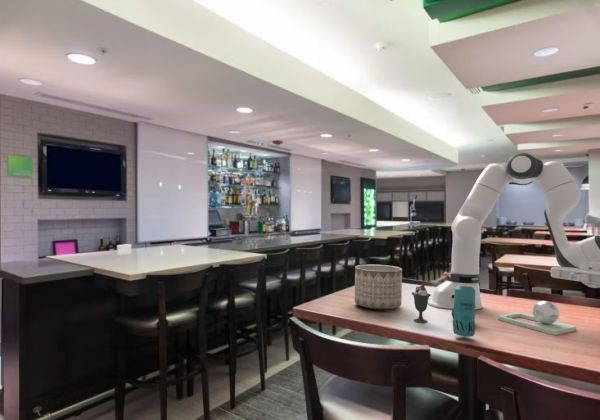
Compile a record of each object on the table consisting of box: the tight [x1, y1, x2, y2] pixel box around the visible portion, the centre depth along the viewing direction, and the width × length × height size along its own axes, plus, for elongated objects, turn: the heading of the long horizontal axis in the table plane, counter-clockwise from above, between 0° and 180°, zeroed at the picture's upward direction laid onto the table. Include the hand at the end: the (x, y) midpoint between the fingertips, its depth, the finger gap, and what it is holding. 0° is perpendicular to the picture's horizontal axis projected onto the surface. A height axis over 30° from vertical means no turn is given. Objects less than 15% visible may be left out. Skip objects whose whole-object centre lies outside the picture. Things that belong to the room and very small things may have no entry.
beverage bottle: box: [452, 275, 476, 338], centre depth 118 cm, size 6×7×20 cm
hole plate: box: [497, 312, 577, 336], centre depth 134 cm, size 20×13×1 cm, turn 28°
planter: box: [354, 264, 403, 311], centre depth 156 cm, size 19×19×16 cm
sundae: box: [411, 280, 432, 324], centre depth 136 cm, size 7×7×15 cm
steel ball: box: [532, 300, 560, 324], centre depth 131 cm, size 8×8×8 cm
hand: (573, 277), depth 123 cm, fingers closed
